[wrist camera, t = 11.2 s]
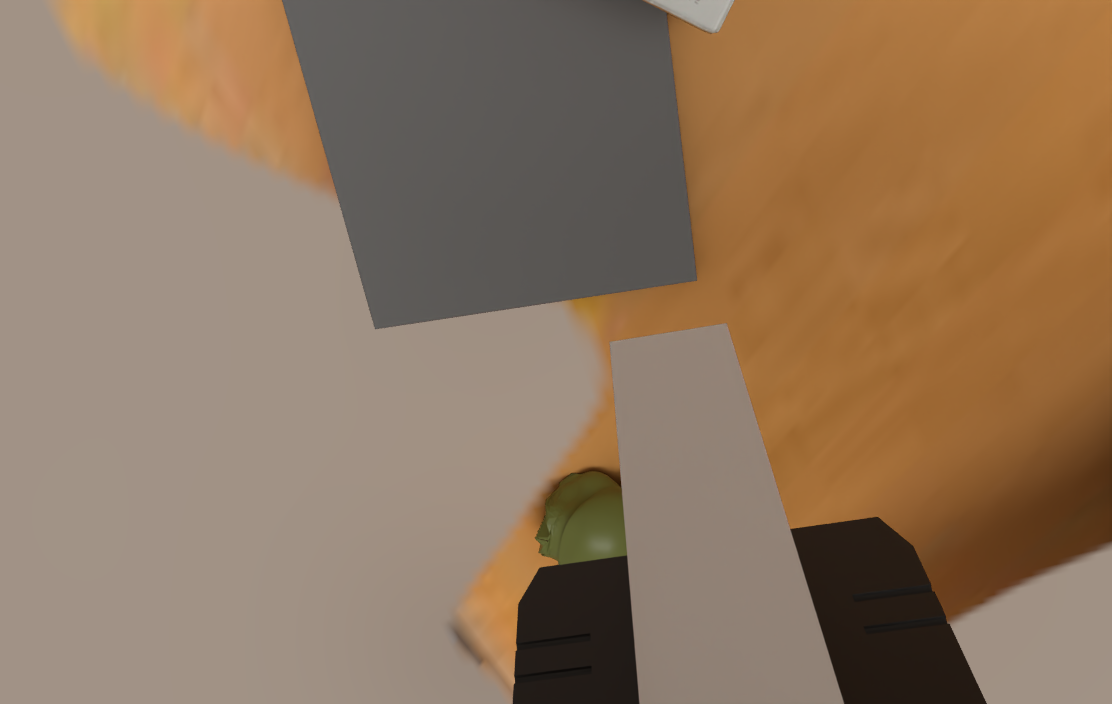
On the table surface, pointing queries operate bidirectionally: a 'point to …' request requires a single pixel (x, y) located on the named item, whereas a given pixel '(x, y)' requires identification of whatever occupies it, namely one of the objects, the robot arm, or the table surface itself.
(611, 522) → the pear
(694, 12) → the small box
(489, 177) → the mat
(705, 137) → the table surface
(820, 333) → the table surface
